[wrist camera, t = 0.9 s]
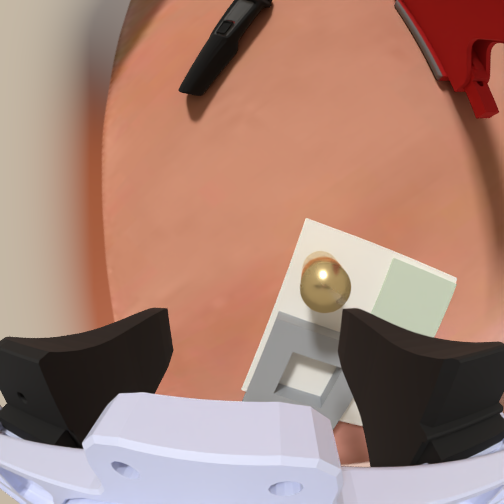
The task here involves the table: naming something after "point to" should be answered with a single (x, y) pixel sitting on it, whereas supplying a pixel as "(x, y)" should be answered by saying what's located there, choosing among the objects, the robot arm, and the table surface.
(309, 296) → the brass cylinder
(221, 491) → the robot arm
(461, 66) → the tool
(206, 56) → the electric trimmer
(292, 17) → the table surface
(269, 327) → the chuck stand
